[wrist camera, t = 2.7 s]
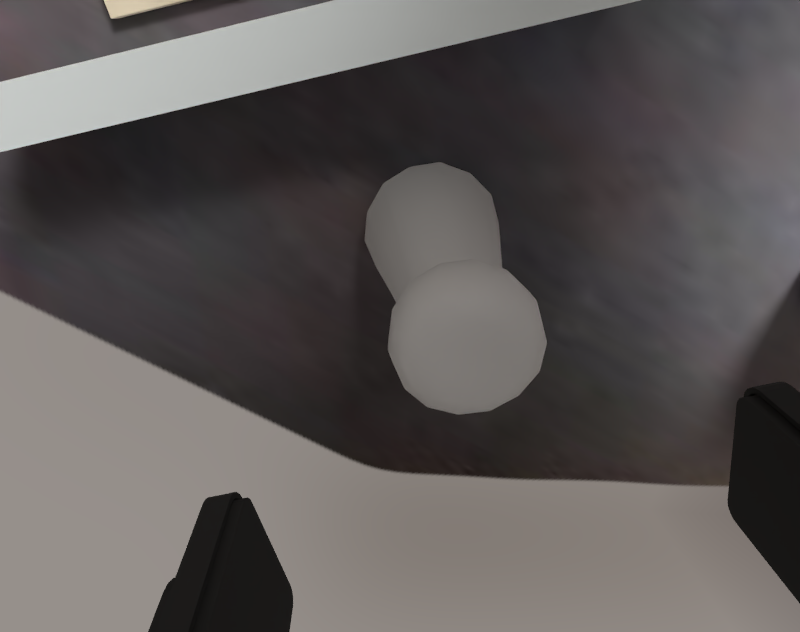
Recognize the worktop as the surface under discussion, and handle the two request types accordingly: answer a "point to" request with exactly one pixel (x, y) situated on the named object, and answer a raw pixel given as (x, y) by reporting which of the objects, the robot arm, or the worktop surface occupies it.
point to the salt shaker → (452, 292)
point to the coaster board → (136, 6)
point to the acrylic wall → (254, 59)
